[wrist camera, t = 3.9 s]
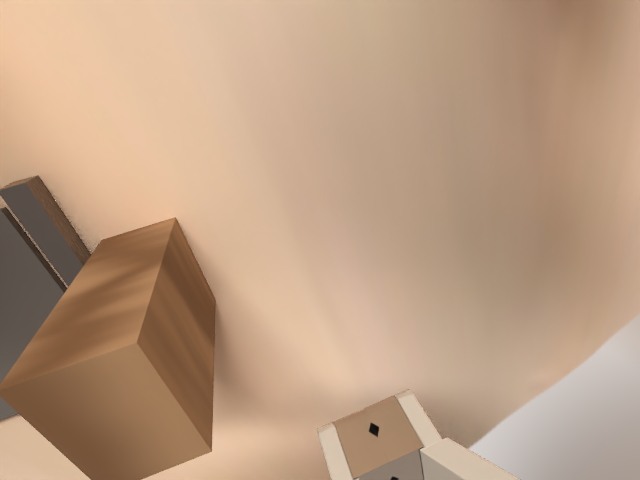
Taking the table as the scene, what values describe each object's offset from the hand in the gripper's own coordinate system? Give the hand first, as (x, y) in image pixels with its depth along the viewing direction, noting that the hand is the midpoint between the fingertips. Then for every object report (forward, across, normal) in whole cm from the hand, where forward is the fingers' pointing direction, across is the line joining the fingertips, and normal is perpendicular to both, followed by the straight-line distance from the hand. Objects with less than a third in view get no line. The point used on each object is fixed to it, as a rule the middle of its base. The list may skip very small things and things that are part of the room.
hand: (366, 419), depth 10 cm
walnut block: (+13, +8, -1) cm, 15 cm away
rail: (+13, +11, -1) cm, 17 cm away
